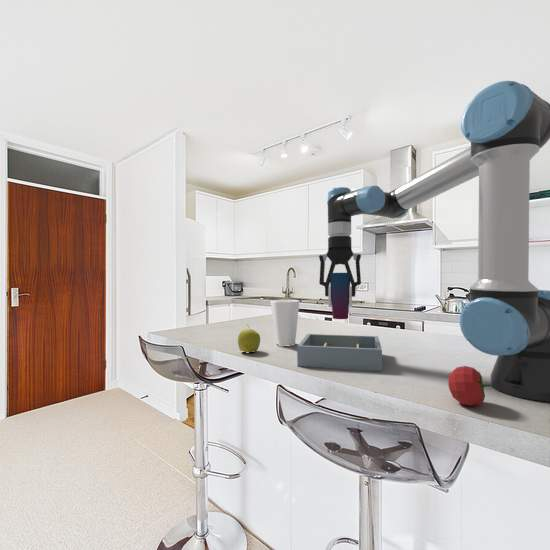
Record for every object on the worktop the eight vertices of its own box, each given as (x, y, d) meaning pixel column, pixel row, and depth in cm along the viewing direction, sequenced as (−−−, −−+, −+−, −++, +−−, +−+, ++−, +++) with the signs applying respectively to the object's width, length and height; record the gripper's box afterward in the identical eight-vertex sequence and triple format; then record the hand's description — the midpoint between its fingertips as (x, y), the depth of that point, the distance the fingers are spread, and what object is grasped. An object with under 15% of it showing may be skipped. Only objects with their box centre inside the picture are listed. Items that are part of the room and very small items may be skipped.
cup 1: (303, 346, 124) (303, 301, 124) (278, 349, 120) (278, 302, 120) (291, 340, 134) (290, 299, 134) (268, 343, 131) (267, 300, 130)
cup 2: (351, 319, 104) (350, 272, 104) (329, 319, 105) (329, 272, 105) (350, 316, 111) (350, 272, 111) (330, 316, 112) (329, 272, 112)
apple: (233, 352, 112) (236, 323, 115) (240, 353, 119) (243, 326, 122) (255, 353, 110) (257, 323, 113) (261, 354, 117) (263, 327, 120)
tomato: (443, 360, 70) (484, 358, 66) (452, 375, 75) (492, 375, 70) (445, 396, 66) (489, 398, 61) (455, 411, 70) (497, 413, 66)
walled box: (382, 371, 92) (381, 349, 91) (297, 366, 98) (297, 346, 98) (378, 354, 111) (378, 336, 111) (307, 350, 117) (307, 333, 117)
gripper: (369, 236, 109) (370, 305, 109) (312, 238, 114) (313, 305, 114) (370, 233, 102) (370, 308, 102) (309, 236, 106) (310, 307, 107)
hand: (340, 306), depth 108 cm, fingers closed on cup 2, 6 cm apart
